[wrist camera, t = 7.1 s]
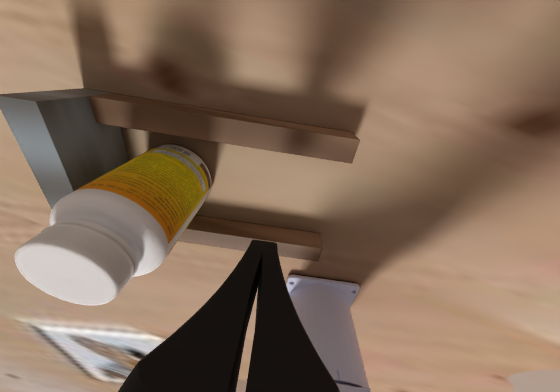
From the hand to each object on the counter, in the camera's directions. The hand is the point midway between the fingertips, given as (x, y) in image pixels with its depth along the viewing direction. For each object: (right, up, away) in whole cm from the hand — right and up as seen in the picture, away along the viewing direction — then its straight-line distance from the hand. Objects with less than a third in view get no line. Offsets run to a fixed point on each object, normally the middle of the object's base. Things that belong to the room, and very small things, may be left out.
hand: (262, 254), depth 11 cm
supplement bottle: (-7, +5, +6) cm, 11 cm away
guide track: (-3, +4, +6) cm, 8 cm away
